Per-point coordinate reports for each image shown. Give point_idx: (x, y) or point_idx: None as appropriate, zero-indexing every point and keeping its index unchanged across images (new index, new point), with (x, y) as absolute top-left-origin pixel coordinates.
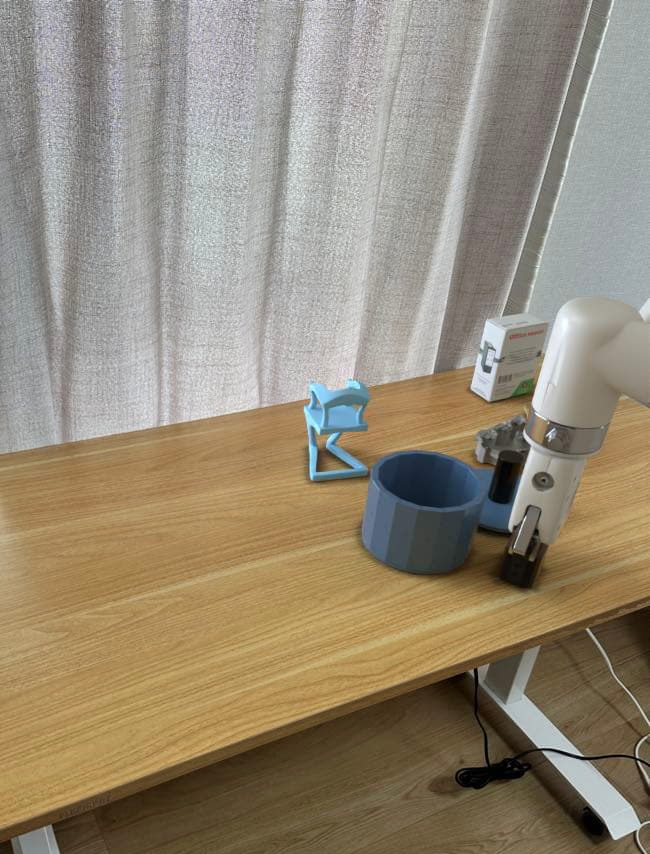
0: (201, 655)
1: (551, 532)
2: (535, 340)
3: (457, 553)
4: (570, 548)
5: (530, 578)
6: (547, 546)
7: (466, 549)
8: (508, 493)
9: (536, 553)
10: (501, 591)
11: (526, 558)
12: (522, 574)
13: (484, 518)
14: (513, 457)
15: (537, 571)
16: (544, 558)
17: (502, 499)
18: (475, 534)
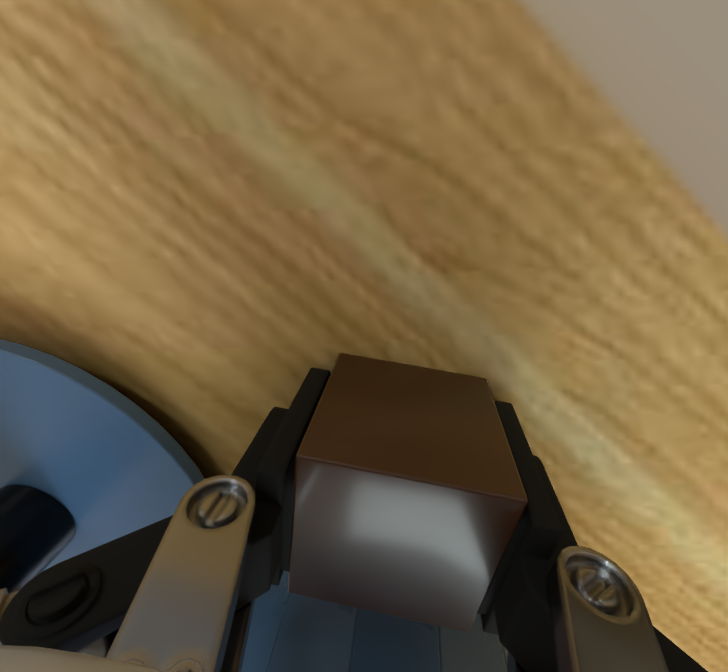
0: None
1: None
2: None
3: (489, 666)
4: (126, 247)
5: (521, 434)
6: (371, 473)
7: (446, 642)
8: (12, 543)
9: (575, 590)
10: (545, 470)
11: (658, 638)
12: (551, 490)
13: None
14: None
15: (503, 435)
16: (356, 397)
17: (51, 529)
18: (361, 643)
